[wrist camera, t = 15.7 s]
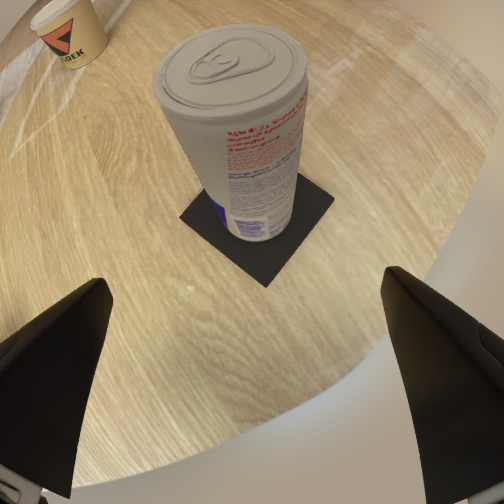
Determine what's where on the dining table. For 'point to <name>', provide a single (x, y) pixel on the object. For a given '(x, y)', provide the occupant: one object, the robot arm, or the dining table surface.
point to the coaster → (268, 251)
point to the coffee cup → (71, 31)
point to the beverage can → (239, 120)
